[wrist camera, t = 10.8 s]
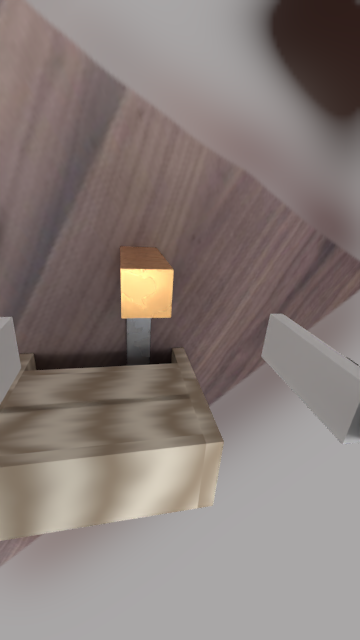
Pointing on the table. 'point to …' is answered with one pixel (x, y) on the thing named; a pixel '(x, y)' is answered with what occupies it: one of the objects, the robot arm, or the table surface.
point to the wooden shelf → (104, 446)
